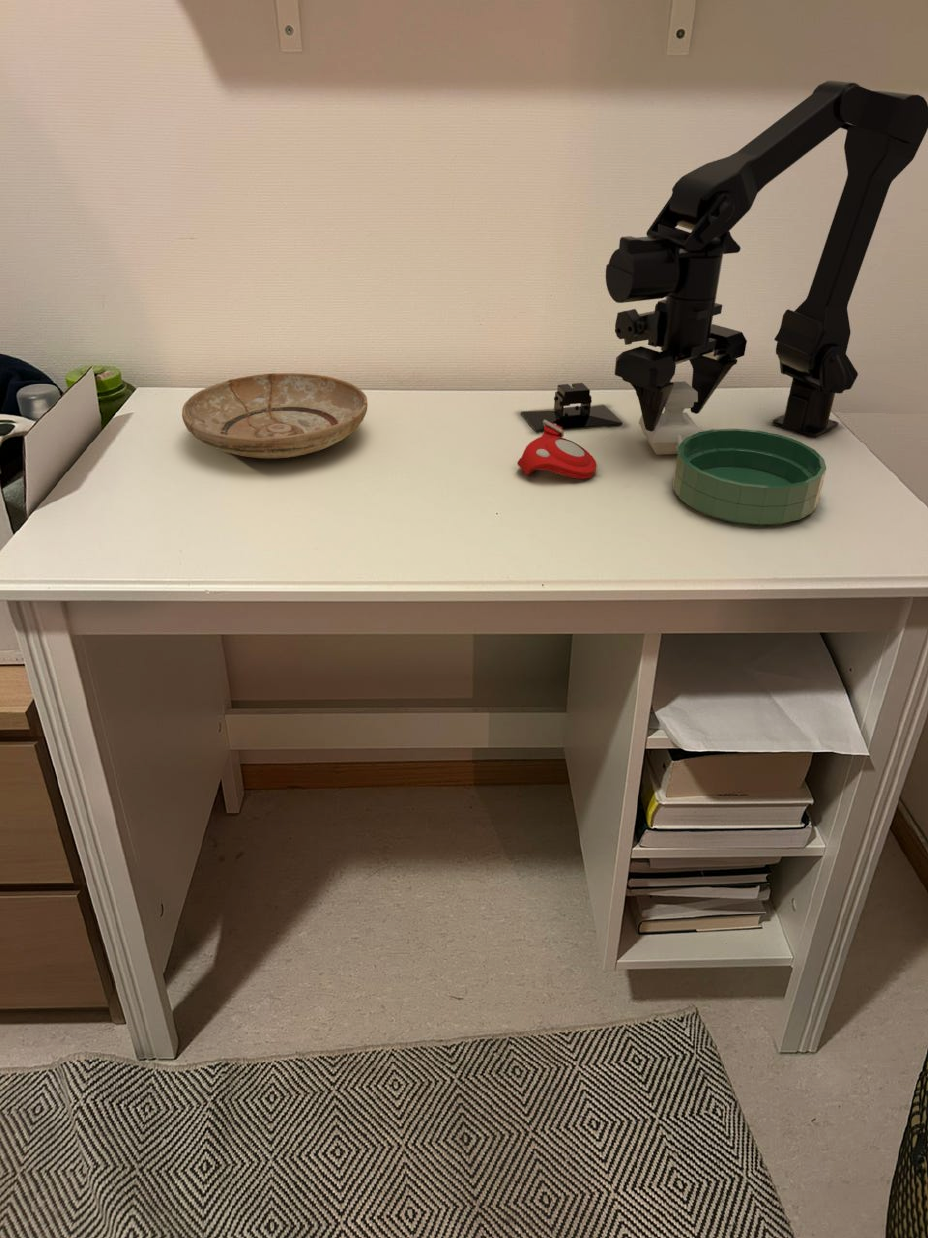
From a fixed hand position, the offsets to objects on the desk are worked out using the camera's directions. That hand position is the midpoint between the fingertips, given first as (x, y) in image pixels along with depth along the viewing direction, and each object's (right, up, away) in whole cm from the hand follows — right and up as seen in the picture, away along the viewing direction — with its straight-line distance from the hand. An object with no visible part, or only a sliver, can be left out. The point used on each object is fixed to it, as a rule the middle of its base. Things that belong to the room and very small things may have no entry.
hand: (672, 421), depth 115 cm
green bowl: (+6, -11, -9) cm, 15 cm away
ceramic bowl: (-50, -2, +4) cm, 50 cm away
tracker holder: (-15, -6, -2) cm, 16 cm away
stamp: (0, -3, +2) cm, 4 cm away
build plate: (-12, +2, +10) cm, 16 cm away
